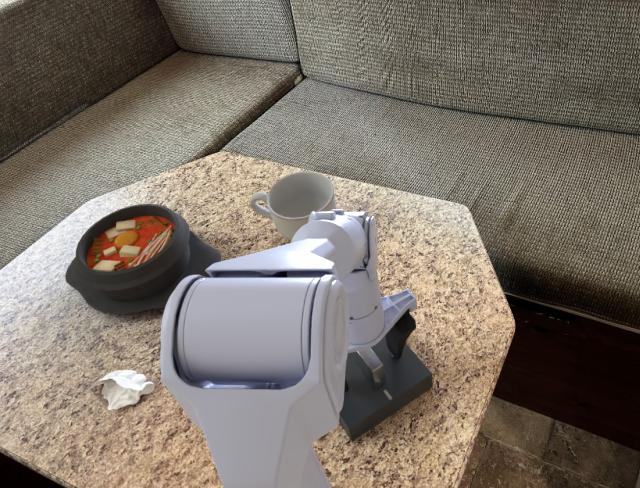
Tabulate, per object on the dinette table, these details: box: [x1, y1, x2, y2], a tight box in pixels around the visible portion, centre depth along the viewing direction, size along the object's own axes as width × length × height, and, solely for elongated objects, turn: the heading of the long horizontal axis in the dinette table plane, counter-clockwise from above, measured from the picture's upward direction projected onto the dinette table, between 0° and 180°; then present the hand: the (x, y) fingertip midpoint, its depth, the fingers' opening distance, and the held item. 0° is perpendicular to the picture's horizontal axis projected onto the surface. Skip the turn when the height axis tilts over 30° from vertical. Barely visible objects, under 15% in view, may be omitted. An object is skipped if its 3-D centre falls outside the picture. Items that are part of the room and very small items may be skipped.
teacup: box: [249, 170, 338, 242], centre depth 98 cm, size 14×11×8 cm
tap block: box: [339, 336, 434, 442], centre depth 76 cm, size 12×10×3 cm
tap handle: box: [352, 348, 386, 389], centre depth 74 cm, size 6×2×4 cm, turn 34°
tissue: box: [83, 369, 156, 411], centre depth 78 cm, size 6×8×4 cm
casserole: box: [64, 203, 222, 315], centre depth 93 cm, size 25×19×8 cm
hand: (369, 369), depth 75 cm, fingers open, 7 cm apart
